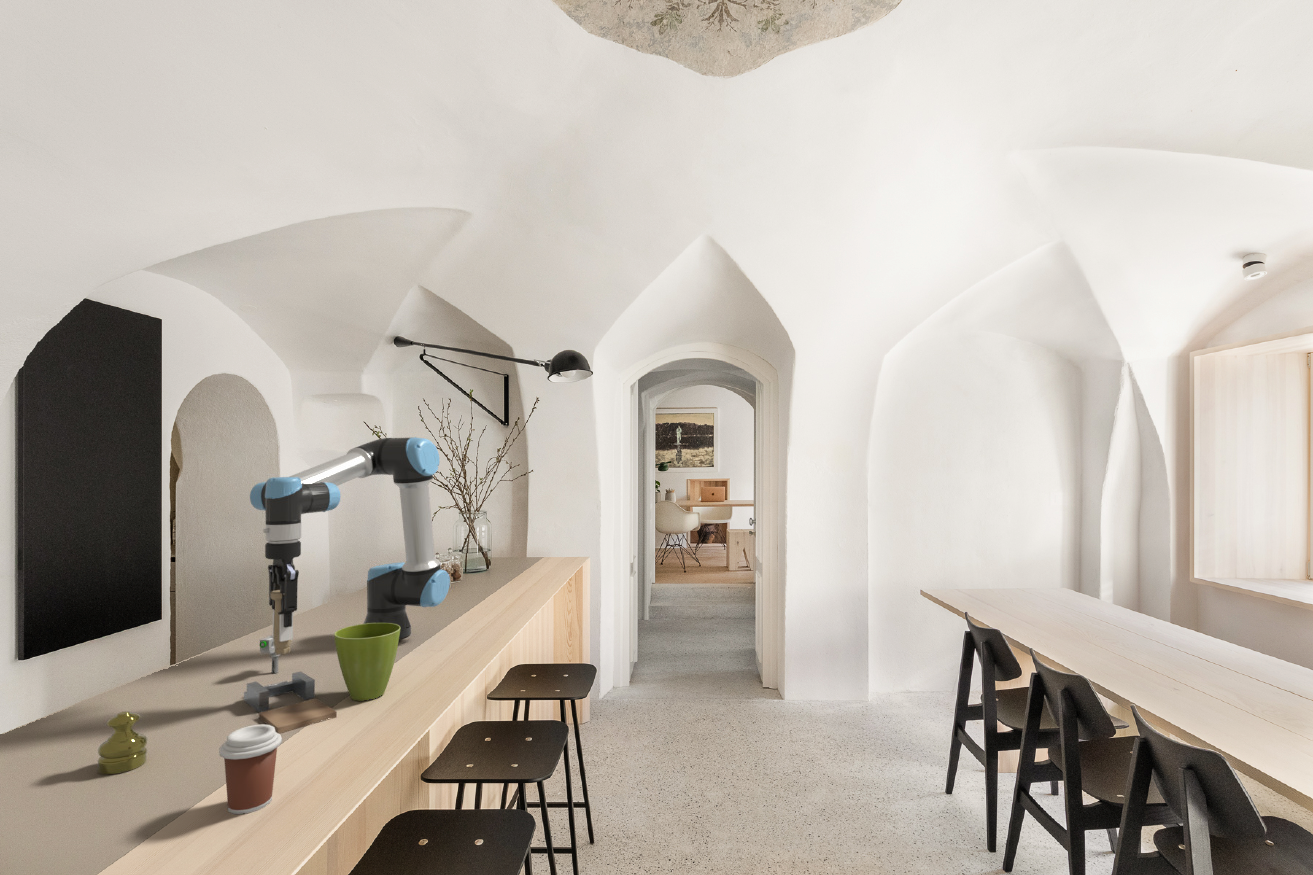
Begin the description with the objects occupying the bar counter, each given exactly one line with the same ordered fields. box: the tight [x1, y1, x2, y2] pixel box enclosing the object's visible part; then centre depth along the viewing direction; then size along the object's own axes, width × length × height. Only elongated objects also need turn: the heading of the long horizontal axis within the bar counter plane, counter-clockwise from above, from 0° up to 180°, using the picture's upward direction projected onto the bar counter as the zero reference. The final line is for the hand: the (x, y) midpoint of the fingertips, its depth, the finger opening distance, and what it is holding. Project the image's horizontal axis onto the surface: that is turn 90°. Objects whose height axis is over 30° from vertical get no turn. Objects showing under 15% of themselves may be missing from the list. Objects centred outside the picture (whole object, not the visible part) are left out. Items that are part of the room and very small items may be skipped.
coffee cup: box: [219, 723, 283, 815], centre depth 112 cm, size 9×9×12 cm
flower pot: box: [333, 623, 400, 702], centre depth 162 cm, size 15×15×16 cm
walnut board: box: [258, 697, 338, 734], centre depth 148 cm, size 12×12×1 cm
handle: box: [270, 590, 292, 656], centre depth 159 cm, size 5×6×15 cm
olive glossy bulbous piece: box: [97, 710, 149, 775], centre depth 126 cm, size 7×7×10 cm
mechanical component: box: [259, 634, 281, 674], centre depth 179 cm, size 3×10×10 cm, turn 174°
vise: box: [243, 671, 316, 713], centre depth 160 cm, size 12×13×4 cm
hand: (282, 637), depth 159 cm, fingers closed on handle, 4 cm apart
